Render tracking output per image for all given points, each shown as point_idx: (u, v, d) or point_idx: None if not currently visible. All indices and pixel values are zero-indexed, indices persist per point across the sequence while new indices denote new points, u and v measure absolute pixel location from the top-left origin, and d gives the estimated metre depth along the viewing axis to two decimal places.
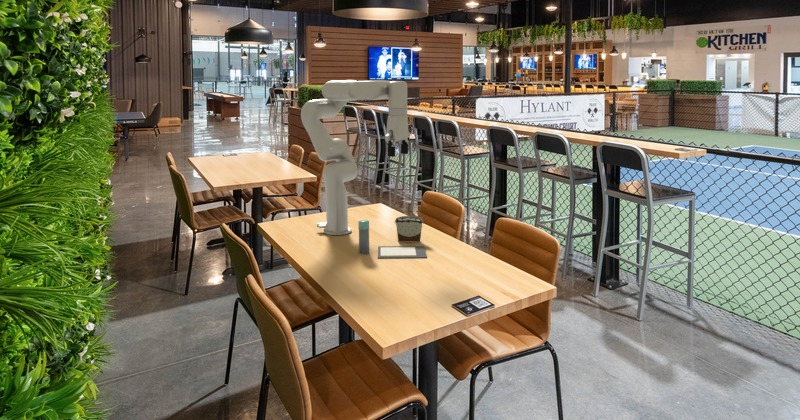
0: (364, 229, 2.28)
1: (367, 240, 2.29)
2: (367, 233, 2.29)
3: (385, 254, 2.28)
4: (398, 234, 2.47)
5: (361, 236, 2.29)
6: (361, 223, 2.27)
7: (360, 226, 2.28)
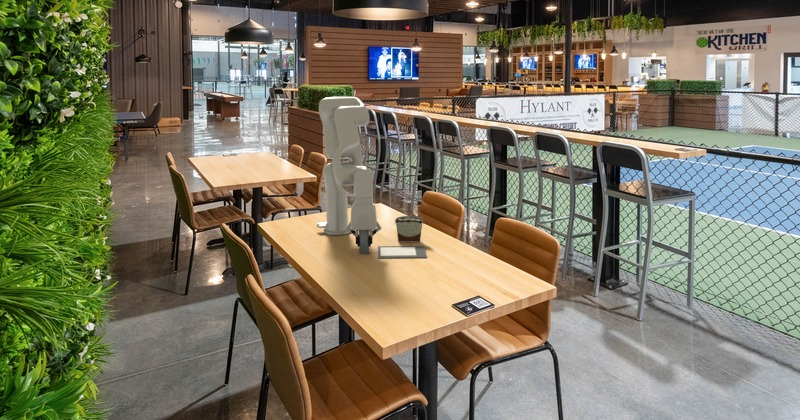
0: None
1: (367, 240, 2.29)
2: (367, 233, 2.29)
3: (385, 254, 2.28)
4: (398, 234, 2.47)
5: (361, 236, 2.29)
6: None
7: None
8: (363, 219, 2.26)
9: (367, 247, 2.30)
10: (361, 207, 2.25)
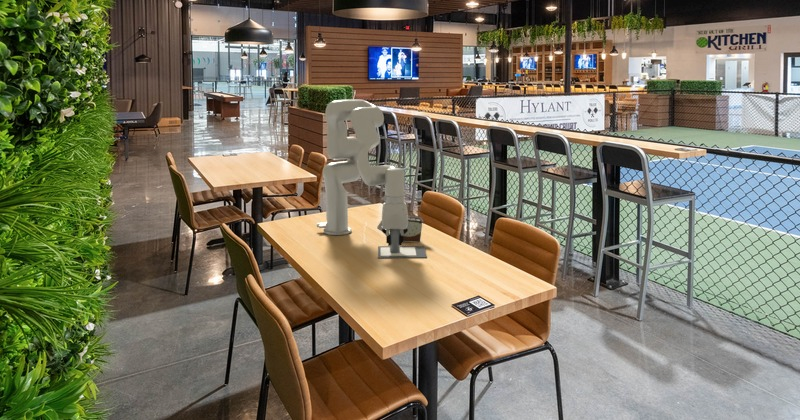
0: None
1: (398, 239, 2.29)
2: (398, 232, 2.28)
3: (385, 254, 2.28)
4: None
5: (392, 235, 2.28)
6: None
7: None
8: (394, 218, 2.25)
9: (398, 246, 2.30)
10: (393, 205, 2.24)
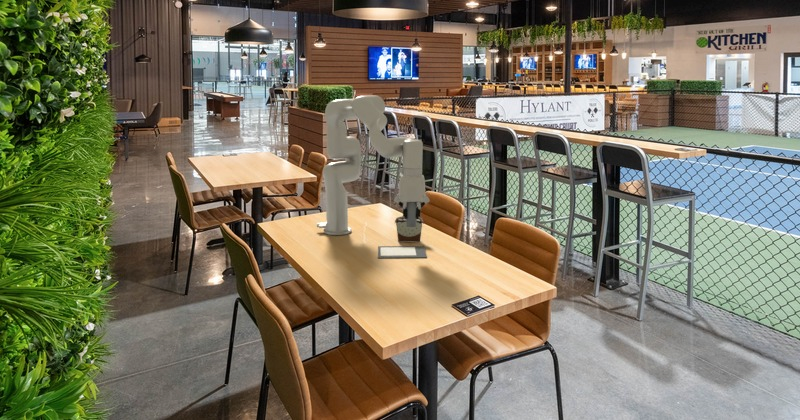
0: None
1: (415, 212, 2.25)
2: (415, 205, 2.24)
3: (385, 254, 2.28)
4: (398, 234, 2.47)
5: (409, 208, 2.24)
6: None
7: None
8: (411, 191, 2.21)
9: (415, 220, 2.25)
10: (410, 178, 2.20)
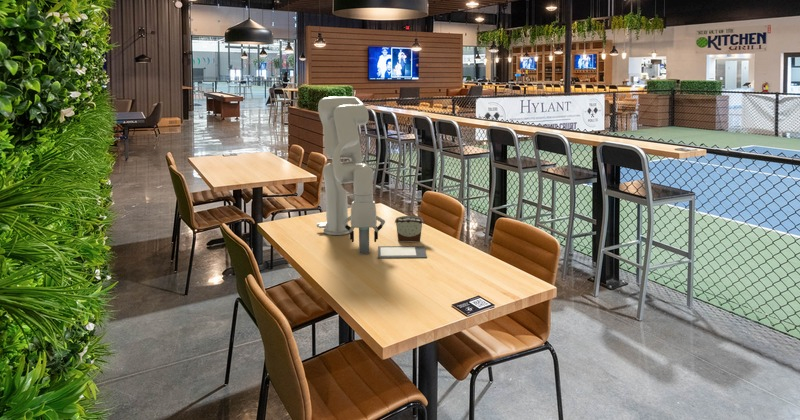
0: (364, 229, 2.28)
1: (367, 240, 2.29)
2: (367, 233, 2.29)
3: (385, 254, 2.28)
4: (398, 234, 2.47)
5: (361, 236, 2.29)
6: None
7: None
8: (362, 217, 2.26)
9: (367, 247, 2.30)
10: (361, 204, 2.25)
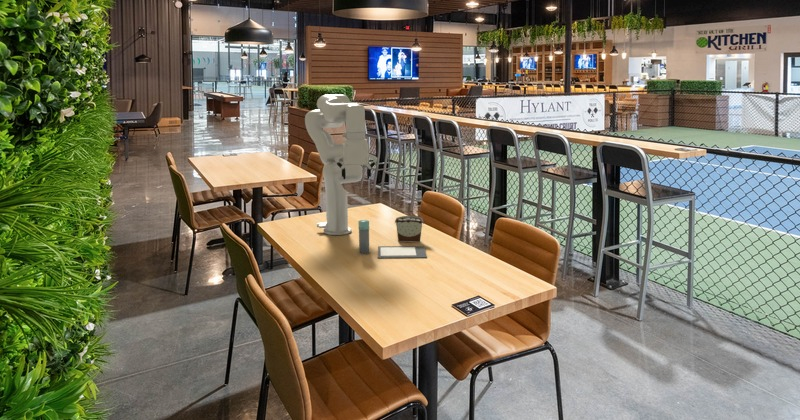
0: (364, 229, 2.28)
1: (367, 240, 2.29)
2: (367, 233, 2.29)
3: (385, 254, 2.28)
4: (398, 234, 2.47)
5: (361, 236, 2.29)
6: (361, 223, 2.27)
7: (360, 226, 2.28)
8: (355, 154, 2.30)
9: (367, 247, 2.30)
10: (353, 141, 2.29)
